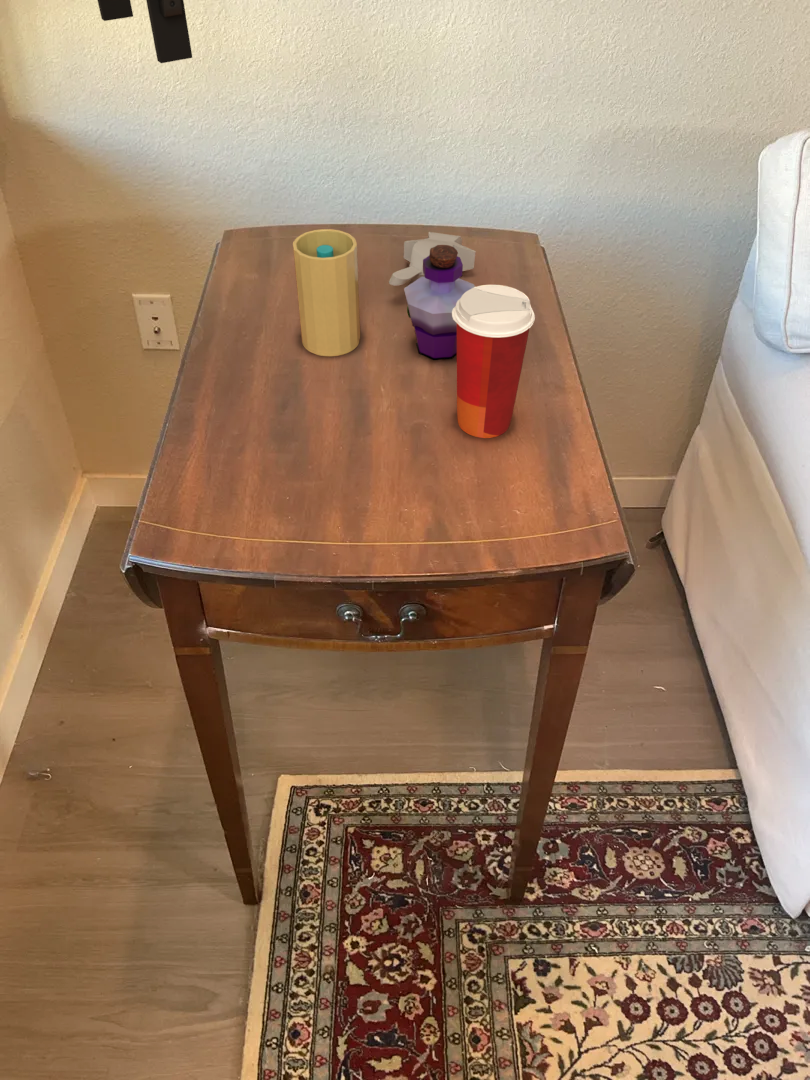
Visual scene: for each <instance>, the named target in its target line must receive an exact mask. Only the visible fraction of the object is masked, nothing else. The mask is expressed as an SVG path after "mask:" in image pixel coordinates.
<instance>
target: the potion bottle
mask: <svg viewBox="0 0 810 1080" xmlns="http://www.w3.org/2000/svg"><path fill="white" fill-rule="evenodd" d="M457 254H458V252H457V250H456V249H455V248H454V247H452V246H449V245H437V246H435V247H433V248H431V249H430V255H429V256H428V257H426V258H425V259H423V273H424V276H425V277H420V278H419V279H417V280H416V281H414V282H413V283H412V282H410V284H409V285H406V287H404V288H403V291H404V295H405V300H406V304H407V305H406V306H407V307H406V309H407V310H406V312H407V317H408V318H409V319H410V321H411V324H412V325H411V326H412V327H413V328H414V333H415V338H416V343H415V345H416V349H417V353H418V355H421V356H423V357H425V358H427V359H429V360H431V361H442V360H443V361H444V360H453V359H455V357H457V323H456V322H455V321H454V320H453V317H452V310H453V308H454V307H455V306H456V303H457V301H458V300H459V299H460V298H461V297H462V295H463V294H464V293H465V292H467V291H468V290H470V289H472V288H474V287H476V285H475V284H474V283H473V282H470V281H467V280H465V279H462V278H461V277H463V271H462V270H463V264H462V261H461V259H460V257H457Z"/></svg>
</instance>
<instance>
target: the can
mask: <svg viewBox="0 0 810 1080" xmlns="http://www.w3.org/2000/svg"><path fill="white" fill-rule="evenodd" d="M321 245H329V246H331V247H333V254H334V257H326V258H320V257H317V247H319V246H321ZM292 252H293V262H294V272H295V273H294V274H295V284H296V294H297V305H298V316H299V326H300V336H301V344H302V346H303V347H304V349H305V350H306V351H308V352H309V353H310V354H311V353H312V354H314V355H317V356H321V357H340V356H343V355H346V354H348V353H349V354H350V353H351V352H352V351H354V350H355V349H357V347H358V346H359V344H360V342H361V327H360V326H361V321H360V320H361V319H360V318H361V317H360V293H359V292H360V291H359V267H358V266H359V263H358V262H359V261H358V243H357V240H356V237H354V236H353V235H351V234H350V233H348V232H345V231H343V230H339V229H330V228H322V229H321V228H320V229H314V230H313V229H312V230H309V231H307V232H303V233H302V234H300V235H299V236H297V237H296V238H295V239H294V240H293V242H292Z"/></svg>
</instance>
